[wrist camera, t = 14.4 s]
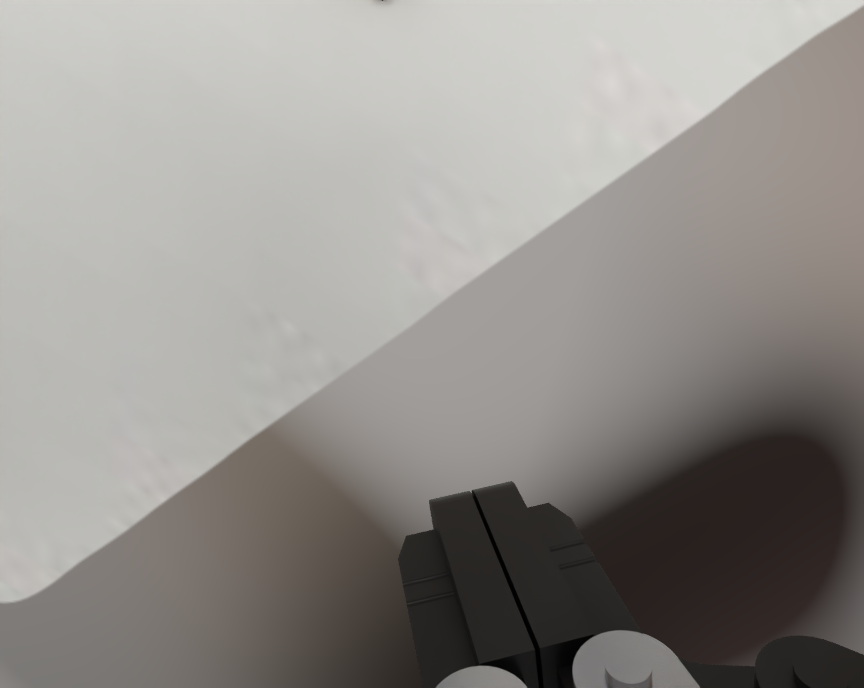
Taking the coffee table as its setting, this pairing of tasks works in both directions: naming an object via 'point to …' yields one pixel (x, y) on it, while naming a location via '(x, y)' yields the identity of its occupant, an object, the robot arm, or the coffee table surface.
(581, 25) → the coffee table surface
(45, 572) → the coffee table surface
